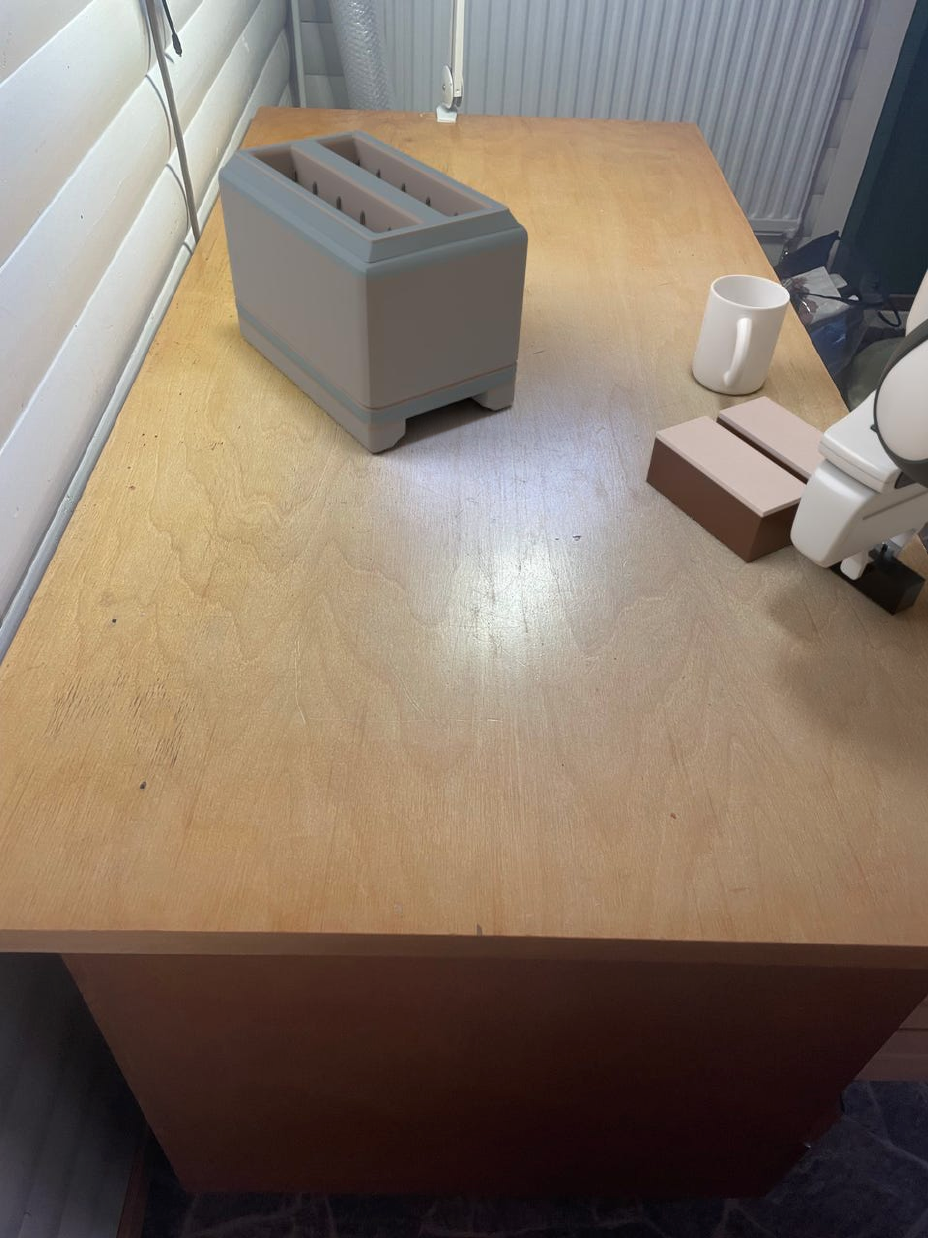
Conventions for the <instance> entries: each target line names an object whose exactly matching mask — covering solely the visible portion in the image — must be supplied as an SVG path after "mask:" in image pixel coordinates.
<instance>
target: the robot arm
mask: <svg viewBox="0 0 928 1238" xmlns="http://www.w3.org/2000/svg"><path fill="white" fill-rule="evenodd" d="M906 318H907V319H906V325H905V336H904V338H903V339H902V340H901V341H900V342H899V344H898V345H897V347H896V348H895V349H894V350H893V352H892V354H891V355H890V357H889V359H888V360H887V362H886V364H885V366H884V368H883V370H882V373H881V375H880V378H879V380H878V383H877V386H876V389H875V390H873V391H872V392H871V393H869V395H868V396H867V397H866V398H865V399H864V400H863V401H862V402H861V403H860V404H858V406H857V407H856V408H854V409H853V410H852V411H850V412H849V413H848V414H846V415H845V416H844V417H842V418H841V419H840V420H838V421H836V422H835V423H833V424H832V425H830V426H829V427H828V428H827V429H825V431H824V432H823V433H824V434H823V435H822V437H821V440H820V443H819V446H818V452H819V453H820V454H821V455H822V456H824V457H825V458H826V459H824V460H823V461H822V462H821V463H820V464H819V465H818V466H817V467H816V469H815V470H814V472H813V473H812V475H811V477H810V479H809V481H808V483H807V485H806V488H805V490H804V493H803V496H802V498H801V501H800V504H799V507H798V510H797V513H796V516H795V519H794V522H793V525H792V529H791V540H792V545H793V546H794V548H795V549H796V550H797V551H798V552H799V553H801V554H802V555H803V556H805V557H806V558H807V559H809V560H810V561H811V562H813V563H814V564H815V565H817V566H819V567H821V568H828V567H829V566H831V565H833V564H835V563H837V562H840V561H842V560H843V561H842V564H841V571H842V572H843V573H844V574H846V575H847V576H848V577H850V578H851V579H853V580H855V579H857V578H859V577H861V576H863V575H865V574H867V573H868V572H869V569H870V567H871V566H872V564H873V562H874V560H873V559H872V558H870V557H869V556H868V552H869V551H871V550H873V549H874V547H875V545H878V546H880V547H881V548H883V549H884V550H885V551H887V552H888V553H889V554H891V555H892V556H894V557H895V558H897V559H898V560H900V559H901V557H902V555H903V553H904V551H905V549H906V547H907V546H908V545H909V544H910V543H911V542H912V540H913V539H914V538H915V537H916V536H917V535H918V534H919V533H920V532H921V530H922V529H923V528H924V527H925V525H926V524H927V523H928V269H927V270H926V272H925V273H924V276H923V278H922V280H921V283H920V285H919V288H918V290H917V292H916V295H915V298H914V300H913V303H912V305H911V308H910V310H909V312H908V316H907V317H906Z"/></svg>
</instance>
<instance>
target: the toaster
mask: <svg viewBox="0 0 928 1238" xmlns="http://www.w3.org/2000/svg"><path fill="white" fill-rule="evenodd" d="M217 179H218V182H217V183H218V186H219V187H218V190H219V196H220V205H221V210H222V211H221V212H222V219H223V224H224V231H225V238H226V246H227V253H228V260H229V267H230V274H231V280H232V281H231V282H232V287H233V288H232V289H233V295H234V302H235V308H236V311H237V312H236V314H237V319H238V328H239V333H240V336H241V337H242V338H243V339H244V340H245V341H246V342H247V343H248V344H249V345H250V346H252V347H253V349H255V350H256V351H257V352H258V353H260V355H261V356H263V357H264V358H265V359H266V360H267V361H268V362H269V363H271V364H272V366H274V367H275V368H276V369H277V370H278V371H279V372H280V373H282V374H283V375H284V376H285V377H286V378H287V379H288V380H289V381H290V382H291V383H293V384H294V385H295V386H296V387H297V388H298V389H300V390H301V392H303V393H304V394H305V395H306V396H307V397H309V399H311V401H313V402H314V403H315V404H316V405H317V406H318V407H319V408H320V409H321V410H323V411H324V412H325V413H326V414H327V415H329V417H330V418H332V419H333V421H335V422H336V423H337V424H338V425H340V426H341V427H342V428H343V429H344V430H345V431H346V432H347V433H348V434H349V435H350V436H352V437H353V438H354V439H355V440H356V441H357V442H359V443H360V445H362V446H363V447H364V448H365V449H366V450H367V451H368V452H369V453H372V454H375V453H380V452H383V451H386V450H389V449H390V448H393V447H394V446H395V445H396V444H397V443H398V441H399V440H400V439H401V438H402V437H403V436H405V435H406V419H409V418H412V417H415V416H417V415H421V414H424V413H427V412H430V411H433V410H435V409H439V408H441V407H445V406H448V405H450V404H453V403H456V402H459V401H462V400H465V399H467V398H468V399H469V398H471V399H472V400H473V401H475V402H476V403H478V404H479V405H481V406H482V407H483V408H488V409H490V410H492V411H498V410H501V409H504V408H507V407H509V406H512V405H513V403H514V400H515V392H516V391H515V390H516V380H517V371H518V359H519V351H520V350H519V348H520V339H521V338H520V337H521V327H522V326H521V325H522V316H523V315H522V312H523V303H524V294H525V293H524V292H525V281H526V269H527V260H528V259H527V258H528V247H529V246H528V245H529V234H528V231H527V229H526V227H525V226H524V225H523V224H522V223H520V222H519V221H518V220H517V218H516V217H515V216H514V215H513V213H512V212H511V211H510V208H509V206H507V205H505V204H503V203H501V202H499V201H498V200H495V199H494V198H491V197H490V196H488V195H486V194H483V192H481V191H478V190H476V189H475V188H473V187H471V186H468V185H467V184H465V183H463V182H461V181H459V180H457V179H455V178H453V177H451V176H449V175H447V174H446V173H444V172H442V171H440V170H437V169H436V168H435V167H432V166H430V165H428V164H426V163H425V162H423V161H421V160H419V159H417V158H415V157H412V156H411V155H409V154H407V153H405V152H403V151H402V150H399V149H398V148H396V147H394V146H392V145H390V144H388V143H386V142H385V141H382V140H381V139H379V138H378V137H375V136H373V135H371V134H369V133H367V132H365V131H364V130H361V129H356V130H349V131H343V132H337V133H331V134H325V135H319V136H314V137H308V138H302V139H296V140H295V139H294V140H289V141H283V142H277V143H271V144H265V145H260V146H253V147H246V148H240V149H235V150H234V151H233V154H232V155H231V157H230V158H229V159H228V160H227V162H226V163H225V164H224V166H223V167H221V168H220V169H219V171H218V178H217Z"/></svg>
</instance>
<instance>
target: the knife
mask: <svg viewBox="0 0 928 1238" xmlns="http://www.w3.org/2000/svg"><path fill="white" fill-rule="evenodd" d="M868 556H869V557H870V558H872V559H873V560H874V562H873V564H872V566H871V567H870V569H869V572H868V573H867V574H865V575H863V576H861V577H859V578H857V579H855V580H853V579H851V578H850V577H848V576H847V575H846V574H844V573H843V572H842V571H841V564H842V561H843V560H842V561H840V562H837V563H835V564H833V565H831V566H829V567H827V568H828V569H830V570H831V571H832V572H834V573H835V574H836V575H838V576H839V577H840V578H842V579H843V580H844V581H845V582H847V583H848V584H849V585H851V586H852V587H853V588H855V589H856V590H857V591H859V592H860V593H861V594H863V595H864V596H865V597H867V598H868V599H870V600H871V601H872V602H873V603H875V604H876V605H877V606H878V607H880V608H881V609H882V610H884V611H885V612H886V613H888V614H889V615H890V616H892V617H893V616H896V615H898V614H900V613H902V612H904V611H906V610H908V609H910V608H912V607H914V605H915V603H916V601H917V599H918V598H919V596H920V593H921V592H922V590H923V587H924V586H925V584H926V583H927V578H925V577H924V576H923V575H921V574H919V573H918V572H917V571H915V570H914V569H912V568H911V567H909V566H908V565H907V564H905V563H904V562H903V561H901V560H900V559H897V558H895V557H894V556H892V555H891V554H889V553H888V552H887V551H885V550H884V549H883V548H881V547H880V546H878V545H875V547H874V549H873V550H871V551H869V552H868Z"/></svg>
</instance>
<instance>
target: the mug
mask: <svg viewBox="0 0 928 1238" xmlns="http://www.w3.org/2000/svg"><path fill="white" fill-rule="evenodd" d="M790 295H791V294H790V293H789V291H788V290H787V289H786V287H784V286H783V285H781V284H779V283H777V282H775V281H773V280H770V279H768V278H764V277H762V276H756V275H750V274H749V275H748V274H729V275H724V276H721V277H720V276H719V277H718V278H716V279H715V280H714V281H712V283H711V285H710V288H709V292H708V297H707V301H706V305H705V310H704V314H703V319H702V323H701V326H700V327H701V328H700V331H699V336H698V340H697V344H696V348H695V353H694V357H693V362H692V374H693V377H694V378H695V380H696V381H697V383H698V384H700V385H701V386H702V387H704V388H706V389H708V390H710V391H713V392H716V393H719V394H722V395H730V396H743V395H748V394H752V393H754V392H755V391H757V390H759V389H760V388H761V387H762V386H763V385H764V383H765V381H766V379H767V377H768V373H769V370H770V367H771V364H772V360H773V356H774V354H775V350H776V348H777V344H778V341H779V337H780V333H781V330H782V327H783V323H784V320H785V318H786V317H785V316H786V314H787V310H788V306H789V303H790V299H791V296H790Z"/></svg>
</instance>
